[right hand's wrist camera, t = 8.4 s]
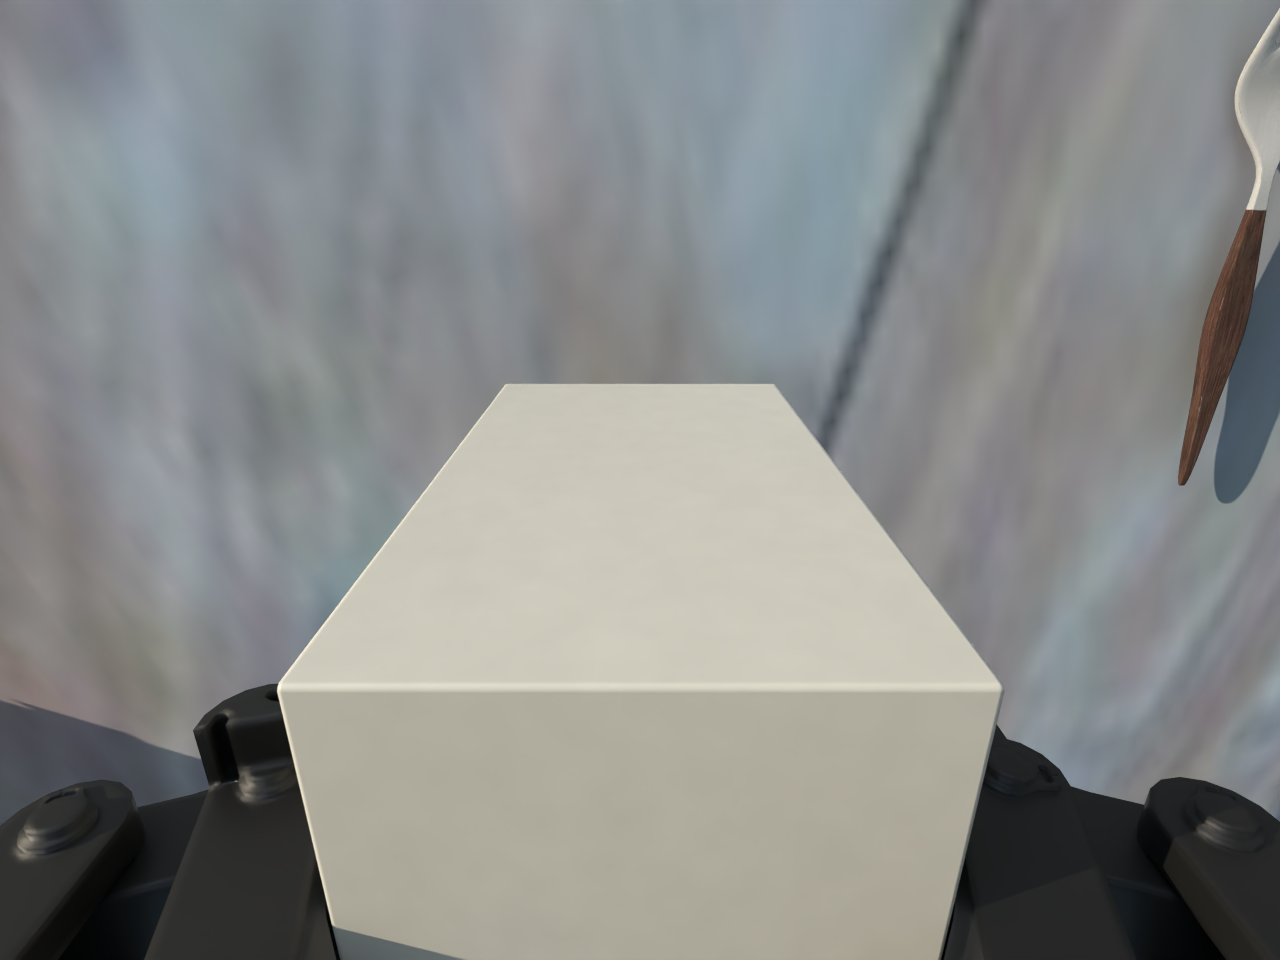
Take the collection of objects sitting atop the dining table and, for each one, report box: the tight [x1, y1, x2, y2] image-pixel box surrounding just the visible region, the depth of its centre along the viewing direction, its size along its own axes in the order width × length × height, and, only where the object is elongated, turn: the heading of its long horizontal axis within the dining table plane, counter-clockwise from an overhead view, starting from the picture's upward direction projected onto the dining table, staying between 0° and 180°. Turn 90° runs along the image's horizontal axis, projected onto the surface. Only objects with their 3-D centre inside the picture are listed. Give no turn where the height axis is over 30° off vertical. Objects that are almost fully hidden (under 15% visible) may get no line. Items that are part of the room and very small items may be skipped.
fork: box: [1178, 9, 1280, 485], centre depth 21 cm, size 3×16×2 cm, turn 1°
